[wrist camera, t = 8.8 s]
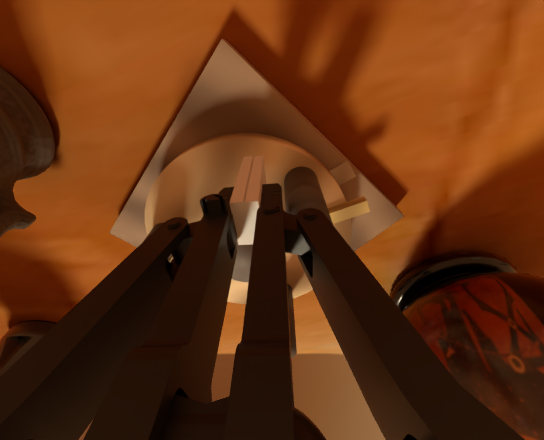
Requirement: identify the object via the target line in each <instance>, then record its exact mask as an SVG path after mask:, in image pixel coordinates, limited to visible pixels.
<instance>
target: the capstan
mask: <svg viewBox="0 0 544 440" xmlns="http://www.w3.org/2000/svg"><path fill="white" fill-rule="evenodd" d="M260 155H264V165H265V174H266V184H273V183H278V184H279V185H280V186H281V187H282V201H283V210H284V211H285V212H287V213H289V214H293V215H297V213H298V212H299V211H300V210H302V209H305V208H315V209H318V210H321V211H322V212H323V213H324V214H325V216H326V217H327V218H328V219H329V221H330V222H331V223H332V224H333V226H334V227H335V228H336V229H337V231H338V232H339V233H340V234H341V236H342V237H343V238H344V240H345V241H346V242H347V243H348V245H349V244H350V240H351V232H352V226H351V218H353V217H356V216H359V215H362V214H365V213H368V212H370V210H369V206H368V202H367V200H366V198H365V197H364V196H363V197H360V198H357V199H354V200H351V201H348V202H346V200H345V197H344V195H343V193H342V191H341V189H340V187H339V185H338V183H337V182H336V180H335V178H334V177H333V175H332V174H331V172H330V171H329V170H328V169H327V168H326V167H325V165H324V164H323V163H322V162H320V161H319V160H318V159H317V158H316V157H315V156H314V155H312V154H311V153H309V152H308V151H306V150H305V149H303V148H302V147H300V146H297V145H295V144H293V143H291V142H289V141H287V140H284V139H280V138H277V137H274V136H270V135H264V134H259V133H231V134H223V135H219V136H215V137H211V138H208V139H206V140H203V141H201V142H198V143H196V144H194V145H193V146H191V147H189V148H188V149H186V150H185V151H183V152H182V153H181V154H180V155H178V156H177V157H176V158H175V159H174V160H173V161H172V162H171V163H170V164H169V165H168V166H167V167H166V168H165V169H164V170H163V171H162V172H161V174H160V175H159V176H158V177H157V179H156V180H155V182H154V184H153V185H152V187H151V189H150V192H149V194H148V197H147V201H146V206H145V227H146V233H147V237H146V238H145V240H146V239H147V238H148V237H149V236H150V235H151V234H152V233H153V232H154V231H155V230H156V229H157V228H158V227H160V226H161V225H162V224H163V223H164V222H166V221H167V220H169V219H171V218H175V217H183V218H186V219H187V221H188V223H193V222H197V221H200V220H201V219H202V217H203V211H202V208H201V205H200V200H201V198H203V197H205V196H207V195H210V194H219V191H221V190H222V189H223V188H225V187H235V183H236V180H237V177H238V174H239V171H240V168H241V164H242V161H243V158H244V157H247V156H260ZM145 240H144V241H145ZM144 241H143V242H144ZM143 242H142V243H143ZM236 247H237V255H236V260H235V265H234V270H233V275H232V280H231V285H230V290H229V295H228V300H227V301H228V302H233V303H240V304H246V299H247V291H248V282H249V274H250V265H251V257H252V248H253V244H250V245H238V241H237V240H236ZM167 259H168V261H169V262H170V261H171V260H172V259H173V257H172V255H170V256H169V257H168V258H167ZM286 270H287V288H288V306H289V325H290V343H291V357H293V356H295V355H296V352H297V351H296V336H295V322H294V307H293V298H296V297H299V296H301V295H303V294H306V293H308V292H309V291H311V290H313V288H312V286H311V284H310V282H309V280H308V278H307V276H306V274H305V272H304V270H303V267H302V265H301V263H300V261H299V259H298V255H296V254H291V253H286Z"/></svg>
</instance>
